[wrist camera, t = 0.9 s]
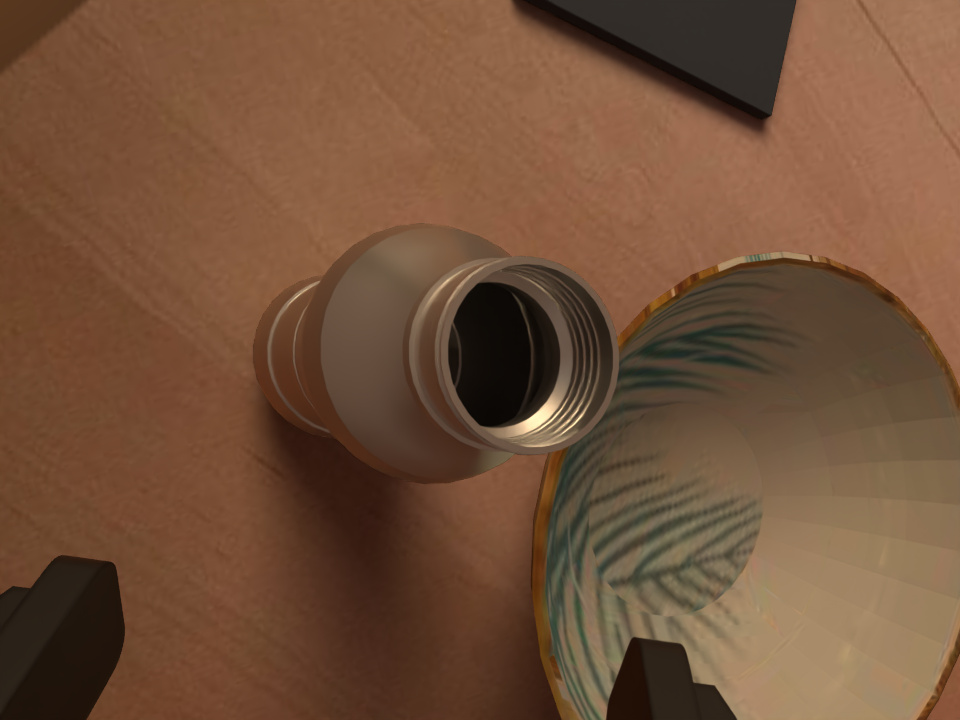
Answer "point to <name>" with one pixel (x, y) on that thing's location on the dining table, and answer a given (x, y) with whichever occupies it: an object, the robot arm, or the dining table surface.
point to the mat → (696, 41)
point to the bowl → (762, 501)
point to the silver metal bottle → (439, 354)
